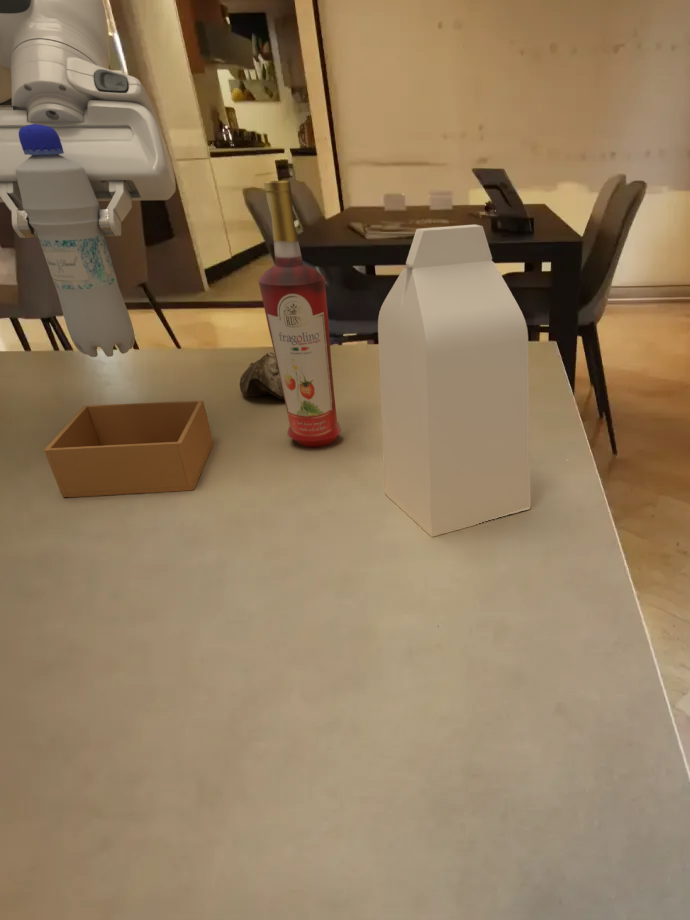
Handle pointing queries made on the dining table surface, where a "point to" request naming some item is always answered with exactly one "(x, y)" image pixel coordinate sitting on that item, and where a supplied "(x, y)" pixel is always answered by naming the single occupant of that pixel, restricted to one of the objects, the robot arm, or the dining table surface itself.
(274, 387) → the fossilized seashell
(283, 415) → the dining table surface
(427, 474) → the milk
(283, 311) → the liquor
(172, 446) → the shallow wooden crate
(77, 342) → the bottle
